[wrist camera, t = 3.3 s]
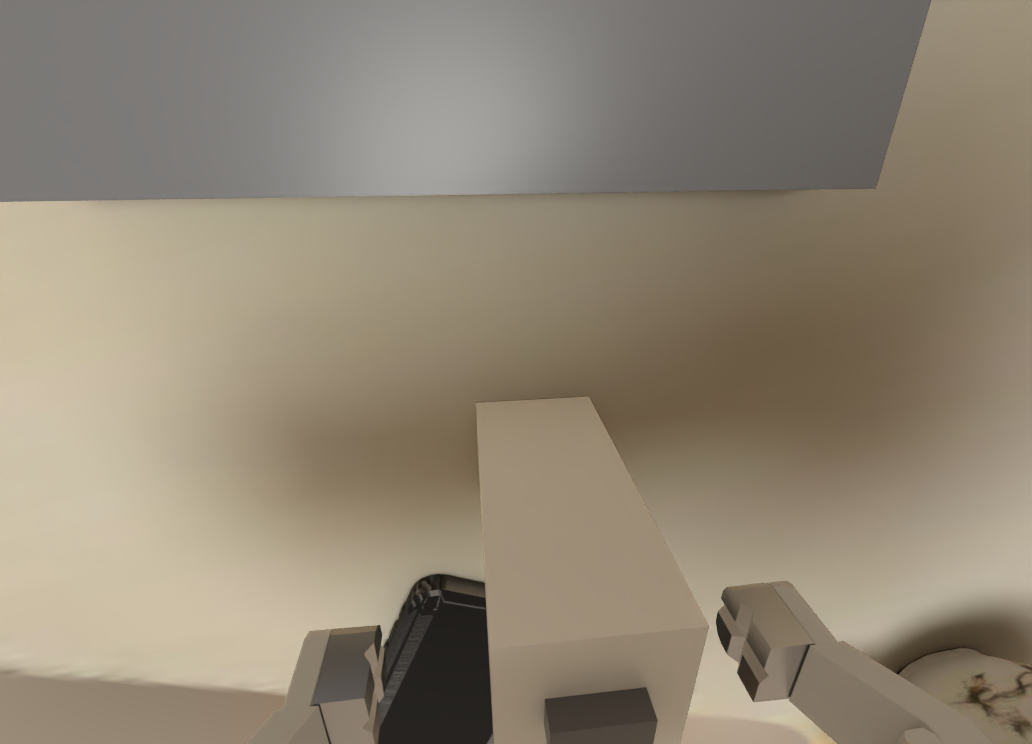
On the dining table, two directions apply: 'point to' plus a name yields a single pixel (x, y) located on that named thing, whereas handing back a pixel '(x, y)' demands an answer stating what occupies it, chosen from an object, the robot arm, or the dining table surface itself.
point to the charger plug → (578, 586)
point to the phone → (439, 667)
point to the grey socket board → (446, 96)
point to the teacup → (979, 691)
